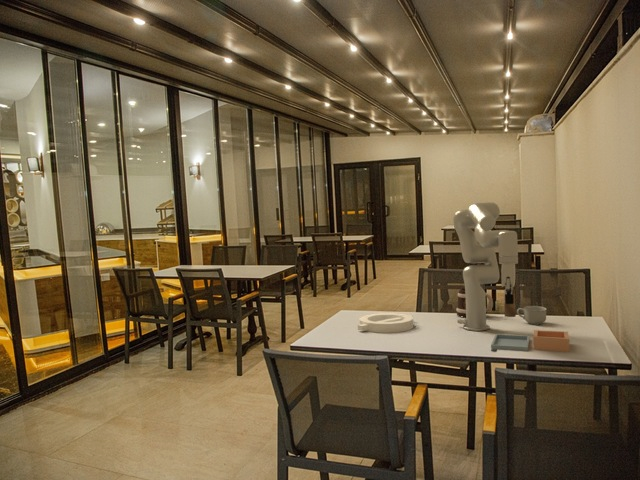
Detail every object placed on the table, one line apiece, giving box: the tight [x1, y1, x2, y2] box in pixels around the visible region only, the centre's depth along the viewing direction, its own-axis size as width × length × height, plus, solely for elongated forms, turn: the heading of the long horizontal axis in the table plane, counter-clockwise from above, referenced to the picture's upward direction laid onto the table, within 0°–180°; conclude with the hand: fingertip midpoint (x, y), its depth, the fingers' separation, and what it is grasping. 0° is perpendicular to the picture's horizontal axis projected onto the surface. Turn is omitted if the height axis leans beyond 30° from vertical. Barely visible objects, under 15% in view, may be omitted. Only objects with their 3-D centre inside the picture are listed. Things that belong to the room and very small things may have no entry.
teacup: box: [516, 305, 547, 325], centre depth 250 cm, size 14×11×8 cm
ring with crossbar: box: [357, 312, 414, 334], centre depth 257 cm, size 28×28×5 cm
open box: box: [532, 329, 570, 352], centre depth 201 cm, size 13×13×6 cm
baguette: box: [503, 289, 517, 318], centre depth 207 cm, size 4×4×11 cm
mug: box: [456, 287, 494, 318], centre depth 275 cm, size 20×15×15 cm
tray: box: [490, 333, 530, 352], centre depth 208 cm, size 14×20×2 cm
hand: (509, 302), depth 207 cm, fingers closed on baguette, 4 cm apart
